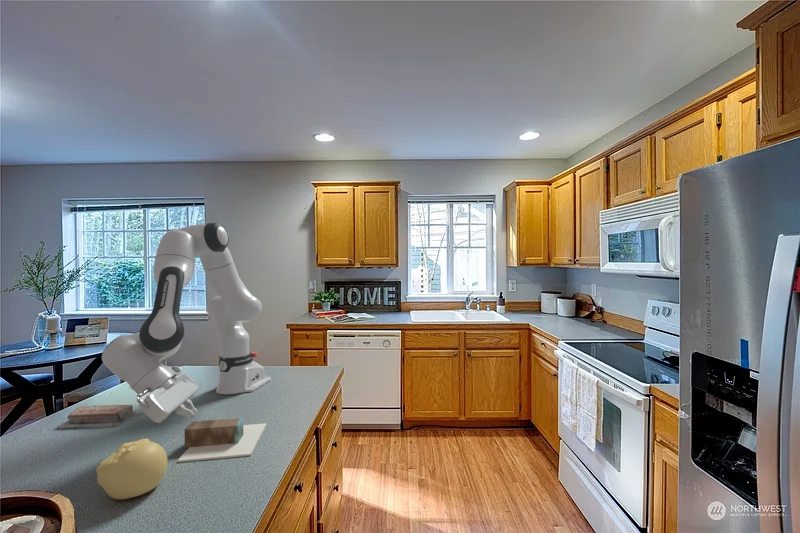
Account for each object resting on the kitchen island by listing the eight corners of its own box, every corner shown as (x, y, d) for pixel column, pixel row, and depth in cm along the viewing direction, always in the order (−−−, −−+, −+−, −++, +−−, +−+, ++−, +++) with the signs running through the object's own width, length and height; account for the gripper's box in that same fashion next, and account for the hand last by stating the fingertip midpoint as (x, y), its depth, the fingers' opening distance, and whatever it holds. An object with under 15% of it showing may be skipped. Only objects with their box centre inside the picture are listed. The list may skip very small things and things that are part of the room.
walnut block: (184, 429, 95) (237, 425, 97) (192, 421, 100) (243, 417, 102) (184, 447, 95) (238, 443, 97) (192, 438, 100) (243, 434, 102)
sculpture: (130, 474, 84) (129, 430, 84) (178, 474, 83) (177, 430, 83) (86, 507, 72) (85, 456, 72) (141, 507, 72) (140, 456, 72)
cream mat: (177, 462, 89) (177, 460, 89) (206, 429, 106) (206, 428, 106) (250, 455, 91) (250, 453, 91) (266, 424, 109) (266, 423, 109)
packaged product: (138, 400, 119) (115, 413, 109) (138, 414, 119) (115, 428, 109) (84, 402, 118) (56, 414, 108) (84, 416, 118) (57, 430, 108)
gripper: (142, 387, 86) (185, 423, 88) (181, 364, 106) (215, 393, 108) (123, 406, 85) (166, 442, 87) (166, 379, 106) (200, 409, 107)
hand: (193, 415), depth 98 cm, fingers closed
